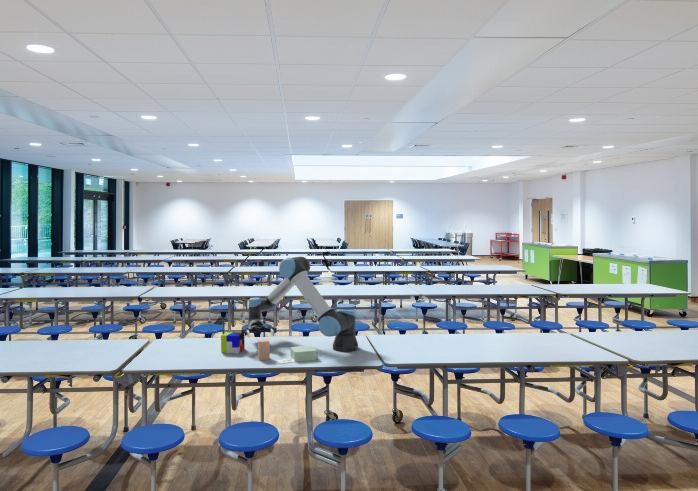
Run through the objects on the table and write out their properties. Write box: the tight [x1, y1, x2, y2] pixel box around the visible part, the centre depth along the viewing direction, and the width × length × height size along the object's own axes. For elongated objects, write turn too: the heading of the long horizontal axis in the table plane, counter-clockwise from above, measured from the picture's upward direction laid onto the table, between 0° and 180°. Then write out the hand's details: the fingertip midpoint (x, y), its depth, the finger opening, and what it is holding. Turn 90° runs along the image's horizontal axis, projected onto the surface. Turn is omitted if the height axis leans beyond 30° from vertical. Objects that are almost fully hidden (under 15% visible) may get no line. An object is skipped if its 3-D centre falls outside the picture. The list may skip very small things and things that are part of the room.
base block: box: [290, 345, 317, 362], centre depth 283 cm, size 12×12×5 cm
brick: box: [257, 338, 271, 361], centre depth 282 cm, size 6×6×10 cm
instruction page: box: [275, 357, 299, 365], centre depth 277 cm, size 10×7×1 cm
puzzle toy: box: [220, 331, 246, 354], centre depth 299 cm, size 10×10×10 cm
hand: (260, 334), depth 291 cm, fingers open, 13 cm apart
